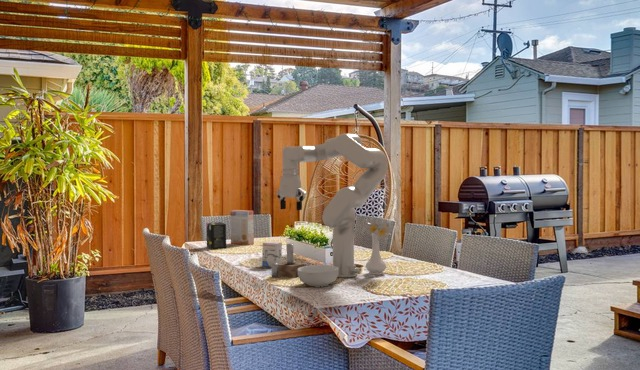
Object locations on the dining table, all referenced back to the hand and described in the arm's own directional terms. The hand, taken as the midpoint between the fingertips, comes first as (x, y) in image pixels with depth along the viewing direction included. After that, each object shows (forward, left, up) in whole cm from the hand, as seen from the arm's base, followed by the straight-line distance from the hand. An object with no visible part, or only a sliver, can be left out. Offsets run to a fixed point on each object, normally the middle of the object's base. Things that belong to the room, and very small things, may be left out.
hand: (291, 209), depth 279 cm
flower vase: (-39, -13, -28) cm, 50 cm away
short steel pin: (-6, +18, -28) cm, 34 cm away
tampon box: (+82, -30, -29) cm, 92 cm away
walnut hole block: (-8, +11, -28) cm, 31 cm away
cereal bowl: (-31, +21, -29) cm, 47 cm away
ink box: (+14, -2, -29) cm, 32 cm away
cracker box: (+80, -50, -28) cm, 99 cm away
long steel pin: (-8, +11, -28) cm, 31 cm away
